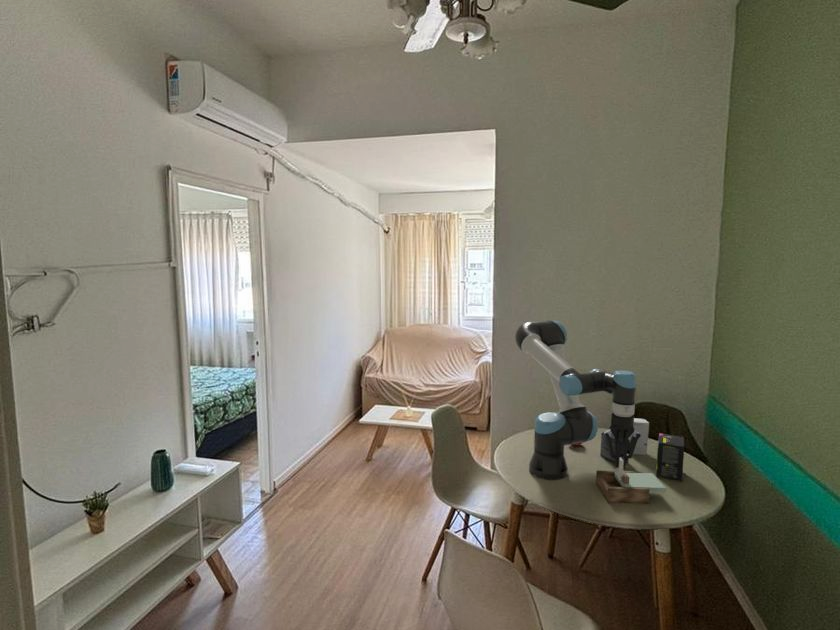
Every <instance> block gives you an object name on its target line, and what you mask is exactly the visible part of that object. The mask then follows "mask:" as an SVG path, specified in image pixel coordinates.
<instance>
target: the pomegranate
mask: <svg viewBox="0 0 840 630" xmlns="http://www.w3.org/2000/svg"><path fill="white" fill-rule="evenodd" d="M582 444H583V443H582V442H581V443H575V444H570V445H571V446H573V447H576V446H577V447H578V446H581V445H582Z"/></svg>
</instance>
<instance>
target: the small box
mask: <svg viewBox="0 0 840 630" xmlns="http://www.w3.org/2000/svg"><path fill="white" fill-rule="evenodd" d="M600 438H601V440H600V454H599V455H600V457H602V458H603V459H606V460H608V461H610V462H611V463H612V464H614V458H612V457H611V456H610V455H609V451H608V446H607V441H606V437H605V435H604V434H603V432H601V437H600ZM611 440H612V445H613V450H614V447H615V437H614V435H613V434H612V433H611ZM629 444H630V439H629V440H628V447H629ZM621 449H622V439H621V445H620V457H621ZM627 450H628V448H627ZM621 458H622V457H621ZM629 460H630V458H629V459H628V460H627V461H626V464H628V463H629Z"/></svg>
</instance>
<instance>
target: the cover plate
mask: <svg viewBox="0 0 840 630" xmlns="http://www.w3.org/2000/svg"><path fill="white" fill-rule="evenodd" d="M625 471H626V470H624V469H623V478H620V477H618V476H617V475H616V472H615V475H614V476H615V478H616V479H617V480H618V482H619V483H620V484H621V486H622V487H632V488H649V492H651V493H652V492H653V493H654V492H658V493H659V492H660V493H666V490H667V487H666V486H665V485H664V483H662V482H661V481H660V479H658V477H656V475H654V473H651V472H649V473H648V472H647V473H646V472H645V473H644V472H635V473H625Z"/></svg>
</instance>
